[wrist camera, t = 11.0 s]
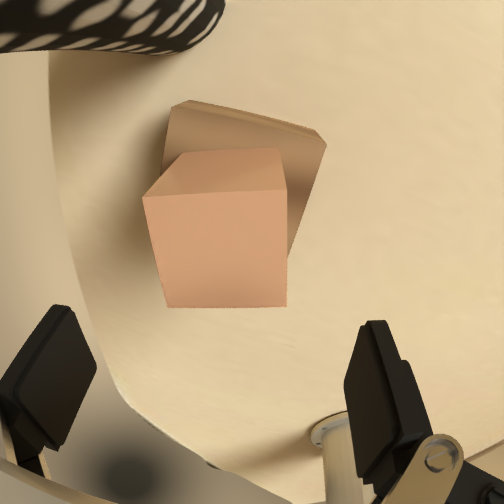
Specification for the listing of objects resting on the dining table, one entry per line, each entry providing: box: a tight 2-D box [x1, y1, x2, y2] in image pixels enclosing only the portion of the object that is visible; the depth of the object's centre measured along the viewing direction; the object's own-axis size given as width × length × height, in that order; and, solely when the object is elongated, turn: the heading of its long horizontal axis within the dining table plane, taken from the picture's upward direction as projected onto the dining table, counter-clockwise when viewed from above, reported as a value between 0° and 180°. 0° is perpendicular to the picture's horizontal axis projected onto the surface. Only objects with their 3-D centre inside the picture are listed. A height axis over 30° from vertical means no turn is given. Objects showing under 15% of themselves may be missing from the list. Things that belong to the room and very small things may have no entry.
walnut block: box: [160, 100, 327, 258], centre depth 21 cm, size 9×9×5 cm
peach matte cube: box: [142, 147, 287, 308], centre depth 16 cm, size 6×6×7 cm
